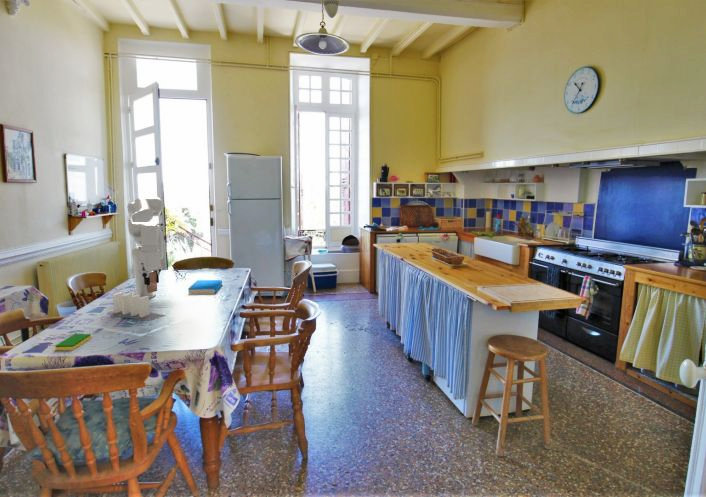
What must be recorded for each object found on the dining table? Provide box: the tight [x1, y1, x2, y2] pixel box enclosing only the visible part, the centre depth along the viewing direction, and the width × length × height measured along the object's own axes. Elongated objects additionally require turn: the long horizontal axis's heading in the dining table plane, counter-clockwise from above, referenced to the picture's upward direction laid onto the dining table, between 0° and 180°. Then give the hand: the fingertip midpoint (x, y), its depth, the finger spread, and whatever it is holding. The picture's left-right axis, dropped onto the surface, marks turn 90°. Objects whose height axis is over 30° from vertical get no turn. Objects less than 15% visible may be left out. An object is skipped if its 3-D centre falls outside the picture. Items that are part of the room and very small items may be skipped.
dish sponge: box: [54, 333, 92, 351], centre depth 178 cm, size 7×14×2 cm, turn 4°
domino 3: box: [130, 295, 140, 316], centre depth 216 cm, size 2×5×10 cm, turn 159°
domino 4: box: [138, 296, 151, 317], centre depth 214 cm, size 2×5×10 cm, turn 159°
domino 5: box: [147, 271, 158, 293], centre depth 210 cm, size 2×5×10 cm, turn 159°
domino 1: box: [112, 291, 124, 313], centre depth 220 cm, size 2×5×10 cm, turn 159°
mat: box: [106, 310, 166, 322], centre depth 217 cm, size 30×11×1 cm, turn 69°
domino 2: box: [121, 292, 133, 314], centre depth 218 cm, size 2×5×10 cm, turn 159°
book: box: [187, 279, 223, 295], centre depth 276 cm, size 17×4×25 cm
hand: (151, 283), depth 210 cm, fingers closed on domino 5, 4 cm apart
